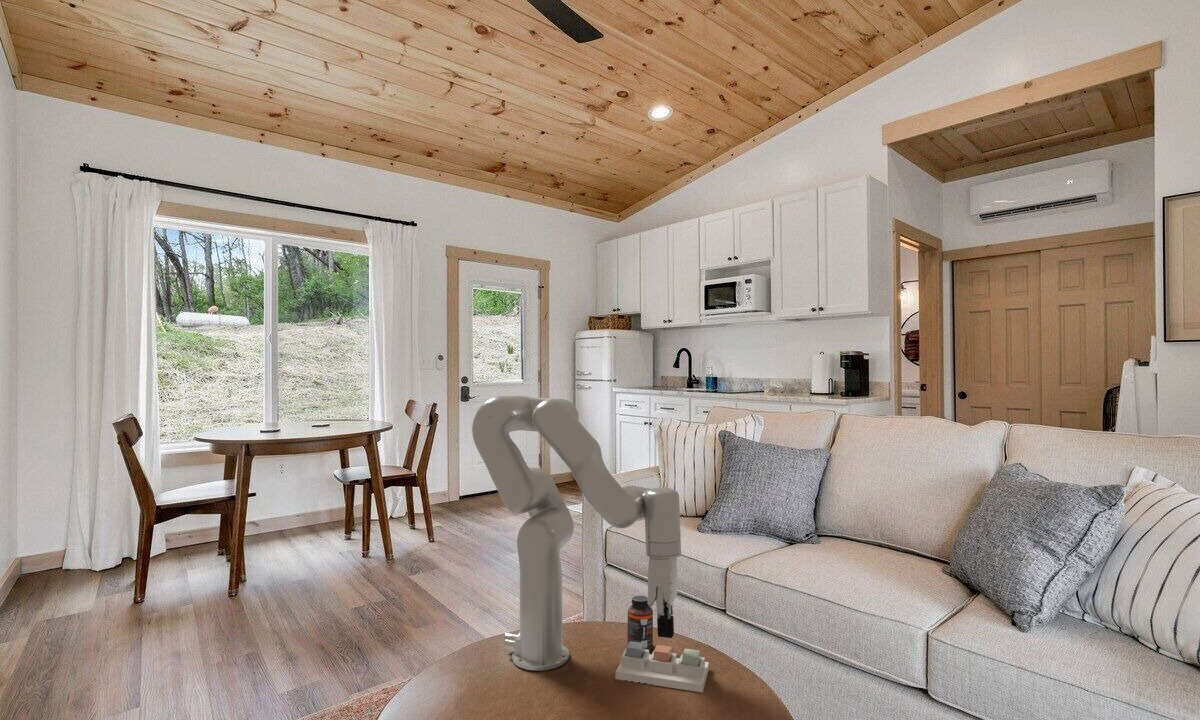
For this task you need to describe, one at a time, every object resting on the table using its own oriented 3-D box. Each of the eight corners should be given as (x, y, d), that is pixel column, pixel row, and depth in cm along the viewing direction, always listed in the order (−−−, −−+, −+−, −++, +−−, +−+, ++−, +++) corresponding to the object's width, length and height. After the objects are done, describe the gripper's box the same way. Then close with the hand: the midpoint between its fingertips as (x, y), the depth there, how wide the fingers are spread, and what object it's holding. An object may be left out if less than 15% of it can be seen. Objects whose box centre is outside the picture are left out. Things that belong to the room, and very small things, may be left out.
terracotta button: (653, 662, 121) (653, 651, 121) (656, 656, 124) (656, 644, 124) (668, 665, 120) (668, 653, 120) (671, 658, 123) (671, 646, 123)
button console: (615, 679, 119) (615, 661, 120) (627, 657, 129) (627, 641, 129) (702, 692, 114) (702, 674, 114) (708, 669, 124) (708, 652, 124)
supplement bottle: (651, 654, 131) (651, 603, 131) (625, 652, 132) (625, 601, 132) (654, 643, 136) (654, 594, 137) (629, 641, 138) (629, 592, 138)
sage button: (682, 667, 119) (682, 655, 119) (684, 660, 122) (684, 648, 122) (698, 669, 118) (697, 657, 118) (700, 662, 121) (699, 650, 121)
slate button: (626, 658, 122) (626, 647, 122) (629, 652, 125) (629, 641, 125) (640, 661, 121) (640, 649, 122) (644, 654, 124) (644, 643, 125)
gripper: (653, 538, 131) (655, 620, 130) (637, 555, 117) (640, 649, 116) (686, 539, 129) (688, 624, 128) (674, 558, 115) (677, 653, 113)
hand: (665, 635), depth 122 cm, fingers closed
